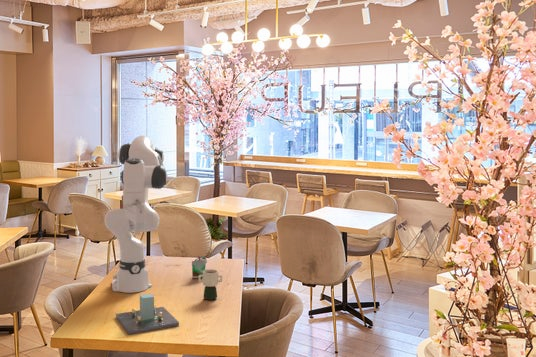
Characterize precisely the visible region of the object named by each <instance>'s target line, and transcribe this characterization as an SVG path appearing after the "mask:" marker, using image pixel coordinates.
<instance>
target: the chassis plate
mask: <svg viewBox="0 0 536 357" xmlns="http://www.w3.org/2000/svg"><path fill="white" fill-rule="evenodd" d="M115 319H116V320H117V321H118V322H119V324H120V325H121V327H122V328H123V329H124V330H125V332H126V333H127V335H129V336H130V335H135V334H140V333H145V332H151V331H157V330H162V329H168V328H174V327H179V326H180V322H179V320H177V319H176V318H175V317H174V316H173V315H172V314H171V313H170V312H169V311H168V310H167V309H166V308H165V307H164V306H160V307H157V306H156V305H154V319H148V320H142V319H141V315H140V309H138V310H136V308H132V309H131V311H126V312H119V313H115Z"/></svg>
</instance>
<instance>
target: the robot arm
mask: <svg viewBox="0 0 536 357" xmlns="http://www.w3.org/2000/svg"><path fill="white" fill-rule="evenodd" d="M117 157H118V161H119V163H120V164H121V165H123V170H122V171H121V184H122V185H123V190H122V195H121V201H122V207H123V208H115V209H110V210H108V211H107V212H106V214H105V216H104V220H103V221H104V226H105V227H106V229H107V230H109V231H110V232H111V233H112V234H113V235H114V237H115V238H116V240H117V242H118V245H119V251H120V253H119V254H120V259H119V263H118V267H119V268H118V269H117V271H116V274H112V278H113V280H111V289H112V290H111V291H112V292H120V293H127V294H128V293H133V294H134V293H139V292H143V291H146V290H147V289H149V288H151V287H152V285H153V284H152V283H150V282H149V280H150V279H149V270H148V269H147V268H146V259H145V245H144V242H143V241H142V240H140V239H138V238H137V237H135V236H134V235H133V233H135V235H140V234H141V233H145V232H152V231H156V230H157V229H158V227H159V225H160V220H161V219H160V215H159V213H158V212H157V211H156V210H154V208H152V207H151V205H150V203H149V201H148V200H149V197H148V196H149V189H156V190H157V189H159V190H161V189H162V188H164V187H165V186H166V185H167V183H168V182H167V181H168V173H167V170H166V168H165V167H164V160H165V155H164V151H163V149H161V148H159V147H154V146H153V142H152V140H151V139H150V138H149V137H147V136H146V135H139V136H136V137H135V138H134V139H133V140H132V141H131V143H129V142H128V143H125V144H122V145H121V146H120V148H119V150H118V152H117ZM132 232H133V233H132Z"/></svg>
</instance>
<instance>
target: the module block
mask: <svg viewBox="0 0 536 357" xmlns="http://www.w3.org/2000/svg"><path fill="white" fill-rule="evenodd" d="M154 306H155V296H154V295H153V294H152V293H144V294H139V310H140V315H141V319H142V320H148V319H154Z"/></svg>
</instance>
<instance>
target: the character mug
mask: <svg viewBox="0 0 536 357" xmlns="http://www.w3.org/2000/svg"><path fill="white" fill-rule="evenodd" d="M201 277H203V278H202V279H201ZM219 278H220V279H219ZM198 282H199V283H202V285H203V286H205V287H204V290H203V298H204V299H205V300H210V301H212V300H215V299H217V298H218V292H217V287H216V286H218V284H219V283H222V282H223V274H219V270H218V269H214V268H213V269H211V268H210V269H205V270H204V271H203V275H199V279H198Z"/></svg>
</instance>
